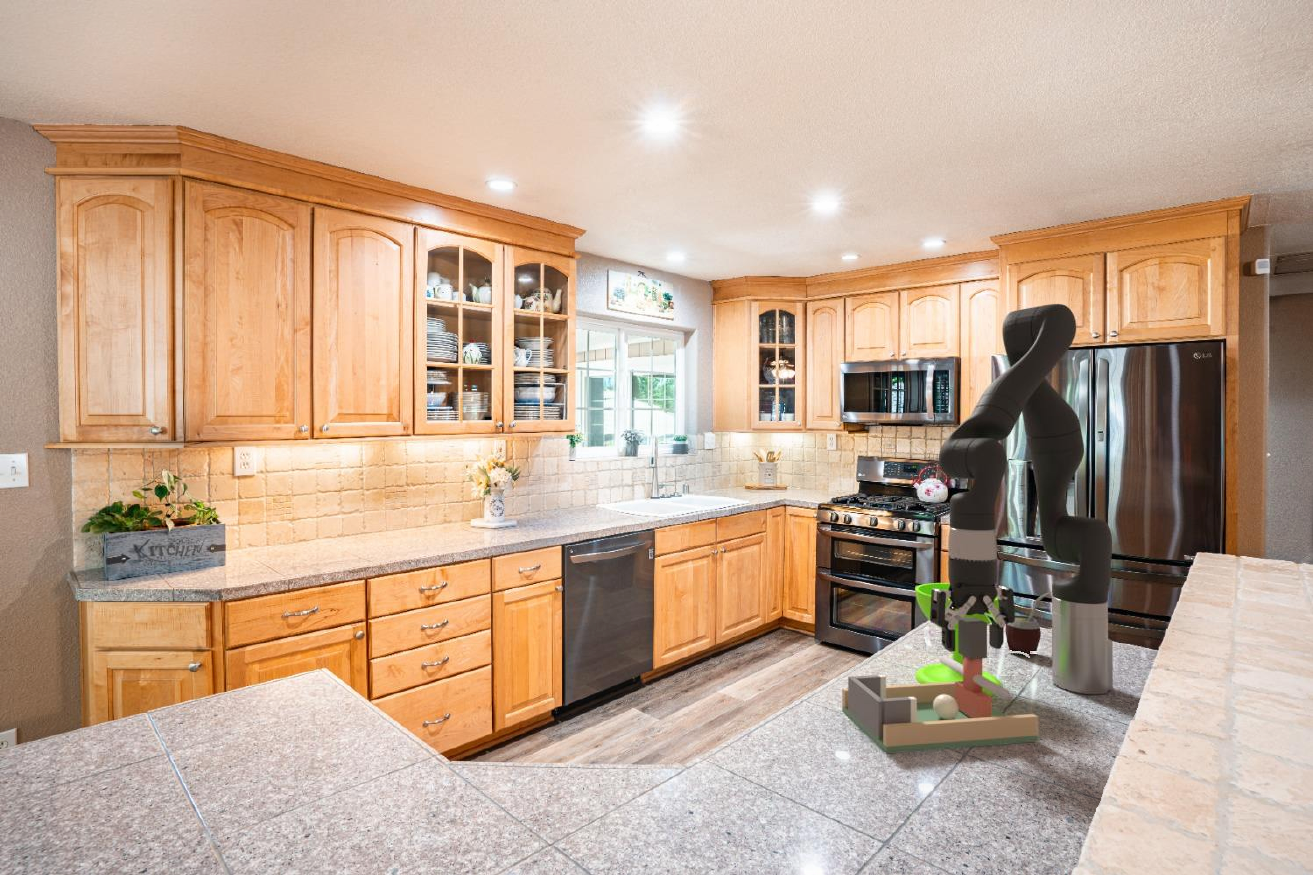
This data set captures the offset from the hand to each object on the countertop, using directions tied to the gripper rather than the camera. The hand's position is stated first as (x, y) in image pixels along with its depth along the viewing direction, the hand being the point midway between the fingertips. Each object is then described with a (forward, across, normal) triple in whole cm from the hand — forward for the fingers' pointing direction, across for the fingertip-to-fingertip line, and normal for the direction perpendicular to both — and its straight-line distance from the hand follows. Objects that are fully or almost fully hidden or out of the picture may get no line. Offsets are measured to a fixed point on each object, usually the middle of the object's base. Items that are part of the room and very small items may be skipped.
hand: (972, 648), depth 112 cm
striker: (+11, 0, 0) cm, 11 cm away
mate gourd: (+13, -34, -31) cm, 48 cm away
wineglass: (+13, -9, -18) cm, 24 cm away
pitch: (+13, +7, 0) cm, 14 cm away
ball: (+10, +5, 0) cm, 11 cm away
